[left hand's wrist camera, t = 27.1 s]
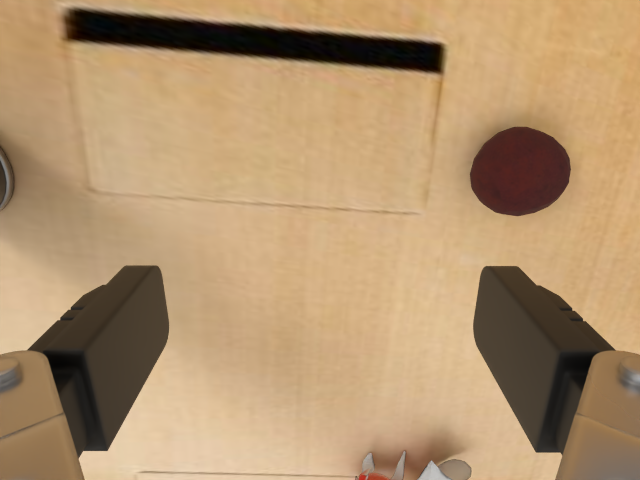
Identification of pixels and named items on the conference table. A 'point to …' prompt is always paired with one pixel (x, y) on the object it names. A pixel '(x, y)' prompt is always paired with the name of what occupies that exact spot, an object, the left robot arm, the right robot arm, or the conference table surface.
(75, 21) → the conference table surface
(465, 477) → the fish
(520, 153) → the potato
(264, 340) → the conference table surface
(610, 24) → the conference table surface
